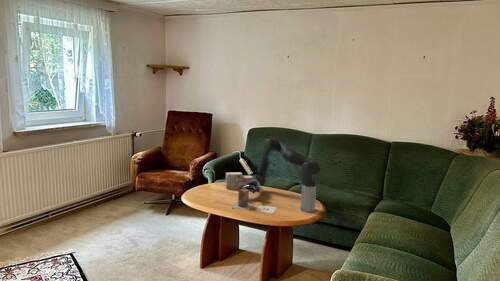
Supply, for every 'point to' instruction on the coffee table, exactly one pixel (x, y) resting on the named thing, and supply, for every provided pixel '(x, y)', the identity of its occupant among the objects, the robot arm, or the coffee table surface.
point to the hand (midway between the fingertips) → (247, 191)
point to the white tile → (266, 209)
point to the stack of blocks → (236, 180)
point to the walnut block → (243, 197)
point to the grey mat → (243, 207)
